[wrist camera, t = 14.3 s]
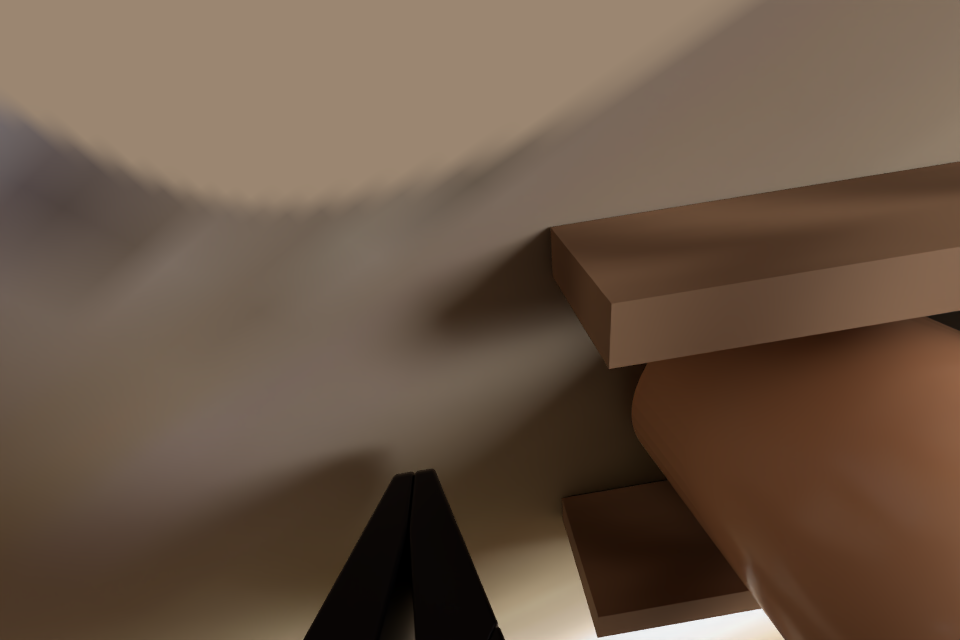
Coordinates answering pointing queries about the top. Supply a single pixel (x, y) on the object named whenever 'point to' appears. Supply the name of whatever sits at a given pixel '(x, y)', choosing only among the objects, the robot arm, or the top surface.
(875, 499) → the terracotta jar
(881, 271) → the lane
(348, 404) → the top surface
